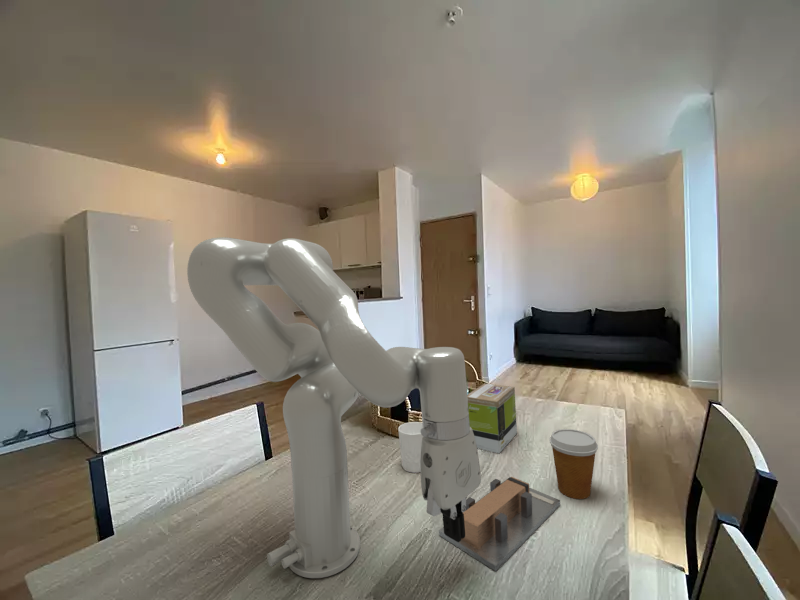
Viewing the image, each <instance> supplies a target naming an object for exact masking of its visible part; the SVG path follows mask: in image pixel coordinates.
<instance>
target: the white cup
mask: <svg viewBox="0 0 800 600" xmlns="http://www.w3.org/2000/svg"><path fill="white" fill-rule="evenodd" d="M422 428H423V424H422V421H420V422H419V421H410V422H405V423H402V424H400V425H399V426H398V428H397V430H398V438H399V439H398V440H399V441H398V442H399V450H400V457H401V458H400V459H401V467H402V469H403V470H405V472H408V473H412V474H415V473H417V474H418V473H420V459H421V444H422V438H423V436H422V435H421V429H422Z"/></svg>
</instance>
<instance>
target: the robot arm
mask: <svg viewBox="0 0 800 600" xmlns="http://www.w3.org/2000/svg"><path fill="white" fill-rule="evenodd" d="M333 268H334V265H333V260H332V257H331V255H330V253H329V252H328V250H327V249H326V248H325V247H323V246H322V245H320V244H318V243H315V242H312V241H308V240H302V239H299V238H295V237H294V238H293V237H291V238H283V239H280V240H277V241H276V242H274V243H263V242H258V241H257V242H256V241H250V240H245V239H239V238H232V237H211V238H208V239H206V240H203V241H201V242H200V243H198V244H197V245H196V246H195V247H194V248H193V249H192V251H191V253H190V255H189V258H188V262H187V268H186V269H187V271H186V272H187V281H188V286H189V289H190V292H191V293H192V294H191V295H192V297H193V298H194V300H195V301H196V302H197V304H198V305H199V307H200V308H201V309H202V310H203V311H204V312H205V314H207V316H209V318H211V320H212V321H213V322H214V323H216V324H217V326H218V327H219V328H220V329H221V331H223V332H224V333H225V335H226V336H227V337H228V338H229V340H230V341H231V342H232V344H233V345H234V346H235V347H236V349H238V351H240V353H241V354H242V356H243V357H244V358H245V359H246V360H247V362H248V363H249V364H250V365H251V366H252V368H253V369H254V370H255V371H256V372H257V373H258V374H259V376H261V377H262V378H264V379H265V380H267V381H268V382H273V383H277V382H282V381H285V380H287V379H290V378H292V377H293V376H295V375H296V376H297V375H298V376H300V378H299V379H297V381H295V382H294V383H293V384H292V385H291V387H289V389H288V390H287V392H286V394H285V396H284V399H283V404H282V416H283V420H284V425H285V428H286V432H287V436H288V442H289V451H290V463H291V464H290V465H291V480H292V481H291V482H292V498H293V499H292V500H293V515H294V517H293V518H294V520H293V521H294V529H293V530H291V531H289V539H288V540H286V541H285V542H284V545H282V546H280V547H277V548H275V549H273V550H272V551H270V552H269V553H268V552H267V553H266V554H267V555H266V558H267V563H268V565H269V566H270V567H273V566H274V565H277V563H280V562H281V566H282V568H283V569H287V568H288V567H289V569H290V570H291V571H292V572H293V573H294V574H295V575H298V576H300V577H304V578H308V579H323V578H327V577H328V578H329V577H330V576H331V577H332V576H333V575H336V574H338V573H340V572H342V571H344V570H345V569H347V567H349V566H350V565H351V564H352V563H353V562H354V560H356V559H357V556H358V555H359V553H360V548H361V538H360V534H359V532H358V530H357V529H355V527H353V526H352V525H351V514H350V513H351V511H350V493H349V492H350V491H349V471H348V470H349V469H348V466H349V465H348V451H347V450H348V449H347V444H346V442H347V441H346V438H345V434H344V431H343V426H342V416H343V415H344V414H345V413H346V412H347V411H348V410H349V409H350V408H351V407H352V405H354V403H355V402H356V401H357V400H358V398H359V394H360V395H361V396H362V397H363V398H364V399H366V401H368V402H370V403H371V404H373V405H375V406H378V407H381V408H392V407H397V406H398V405H400V404H402V403H403V402H404V401H405V400H406V399H407V398H408V396H409V395H410V394H411V391H413V390H415V389H418V390H419V395H420V396H419V397H420V409H421V423H422V424H423V428H422V429H421V435H422V436H423V438H422V444H421V459H420V472H419V474H420V488H421V493H422V498H423V500H424V501H426V513H427V514H428V515H430V516H432V517H437V516H439V515H441V514H442V525H443V526H442V527H444V534H445V535H446V536H448V537H450V538H451V539H453V540H455V541H457V542H460V541H461V539H463V538H464V537H465V523H464V514H463V512H464V511H465V510H466V500H467V499H468V497H469V495H471V494H472V493H474V492H475V490H477V489H478V488H479V487H480V485H481V483H482V481H481V480H482V474H481V467H480V466H481V465H480V459H479V452H478V448H477V445H476V441H475V437H474V433H473V430H472V428H471V427H470V423H469V412H468V398H467V395H468V388H467V373H466V362H465V361H466V360H465V356H464V353H463V352H462V350H461V349H460V348H457V347H453V346H437V347H430V348H416V347H410V346H409V347H408V346H394V347H391V348H388V349H387V350H386V349H385V348H384V347H383V346H382V345H381V344H380V343H379V342H378V341H377V340H376V338H374V337H373V335H372V334H371V332H369V330H368V329H367V327H366V326H365V324H364V323H363V320H362V318H361V316H360V312H359V300H358V297H357V295H356V293H355V292H354V291H353V290H352V289H351V288H350V287H349V285H348V284H346V283H345V282H344V280H342V279H341V277H339V276H338V275H337V273H335V270H334V269H333ZM245 286H278V287H279V288H280V289H281V290H282V291H283V293H284V294H286V296H287V297H288V298H289V299H290V300H291V301H292V302H293V303H294V304H295V305H296V306H297V307H298V308H299V309H300V311H302V312H303V313H304V315H305V317H307V318H308V319H309V320H310V321H311V322H312V323H313V324H314V325H315V326H316V327H315V326H313V325H311V324H308V323H304V322H293V323H285V322H283V321H282V320H281V319H280V318H279V317H278V316H277V315H276V313H274V312H273V311H272V309H271V308H270V307H269V306H268V304H267V302H265V301H264V300H263V299H261V297H258V296H257V295H256V294H254V293H253V292H251V290H249V289H248V288H247V287H245Z"/></svg>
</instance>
